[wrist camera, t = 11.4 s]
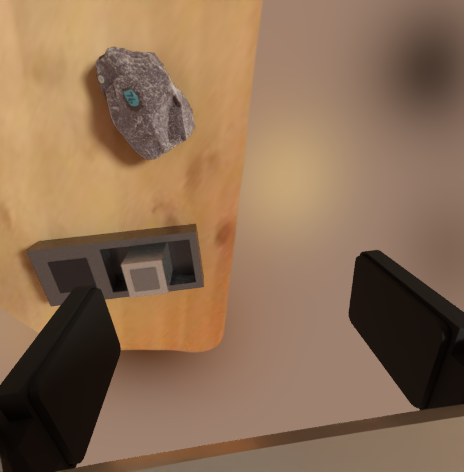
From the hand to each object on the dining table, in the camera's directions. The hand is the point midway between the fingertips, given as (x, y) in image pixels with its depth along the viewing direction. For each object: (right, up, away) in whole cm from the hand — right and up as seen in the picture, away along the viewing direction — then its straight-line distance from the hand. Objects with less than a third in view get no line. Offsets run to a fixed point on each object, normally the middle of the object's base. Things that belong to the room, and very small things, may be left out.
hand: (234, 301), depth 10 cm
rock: (-10, +18, +22) cm, 31 cm away
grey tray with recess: (-16, -1, +30) cm, 34 cm away
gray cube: (-12, -1, +30) cm, 32 cm away
